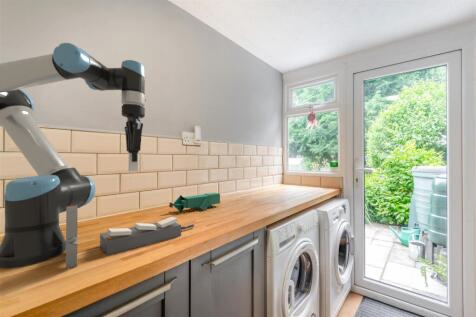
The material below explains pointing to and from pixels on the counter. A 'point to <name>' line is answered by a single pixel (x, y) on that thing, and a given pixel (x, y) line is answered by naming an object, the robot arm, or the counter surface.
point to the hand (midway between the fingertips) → (133, 171)
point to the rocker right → (167, 222)
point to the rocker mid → (145, 226)
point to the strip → (139, 238)
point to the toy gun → (71, 236)
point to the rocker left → (119, 231)
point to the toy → (196, 201)
